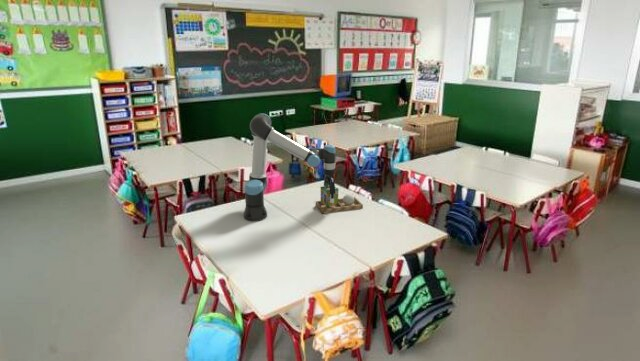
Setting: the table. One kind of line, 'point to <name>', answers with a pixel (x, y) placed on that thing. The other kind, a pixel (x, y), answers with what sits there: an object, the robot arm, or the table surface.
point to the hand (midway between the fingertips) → (329, 199)
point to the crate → (338, 206)
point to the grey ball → (348, 199)
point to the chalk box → (328, 196)
